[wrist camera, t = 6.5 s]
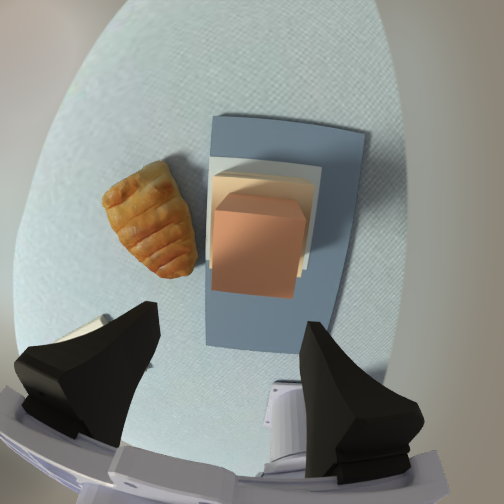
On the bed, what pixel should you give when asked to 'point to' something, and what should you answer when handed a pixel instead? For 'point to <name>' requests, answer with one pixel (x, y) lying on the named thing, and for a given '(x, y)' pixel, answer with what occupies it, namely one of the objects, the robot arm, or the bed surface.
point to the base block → (263, 187)
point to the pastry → (153, 221)
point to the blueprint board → (319, 234)
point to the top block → (257, 245)
